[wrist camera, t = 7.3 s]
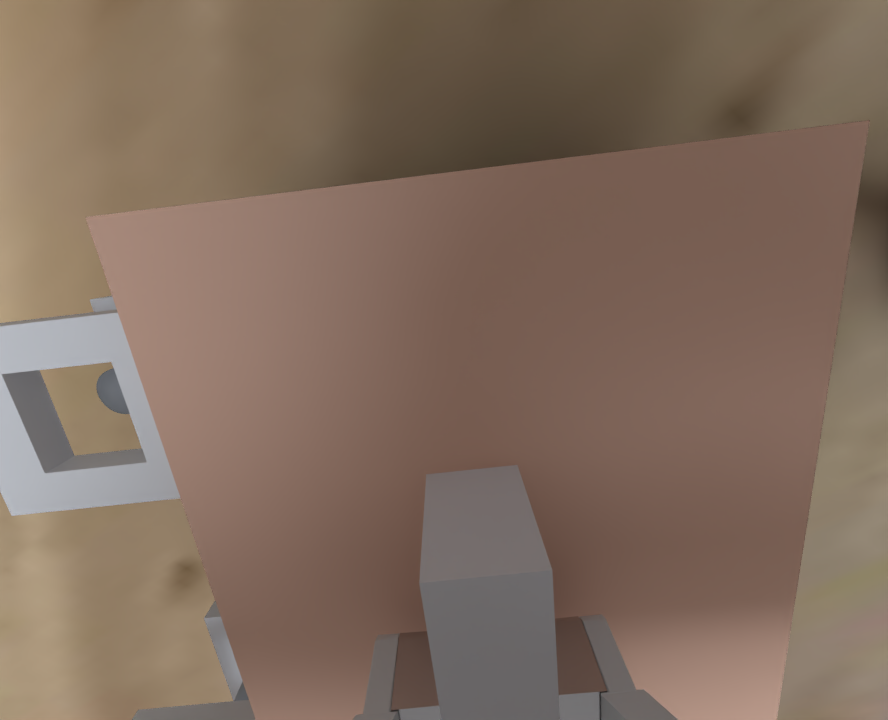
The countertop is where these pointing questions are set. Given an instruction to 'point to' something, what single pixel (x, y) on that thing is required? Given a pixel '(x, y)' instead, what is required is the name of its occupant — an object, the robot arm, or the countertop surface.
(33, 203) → the countertop surface
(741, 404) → the door
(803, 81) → the countertop surface
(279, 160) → the countertop surface
